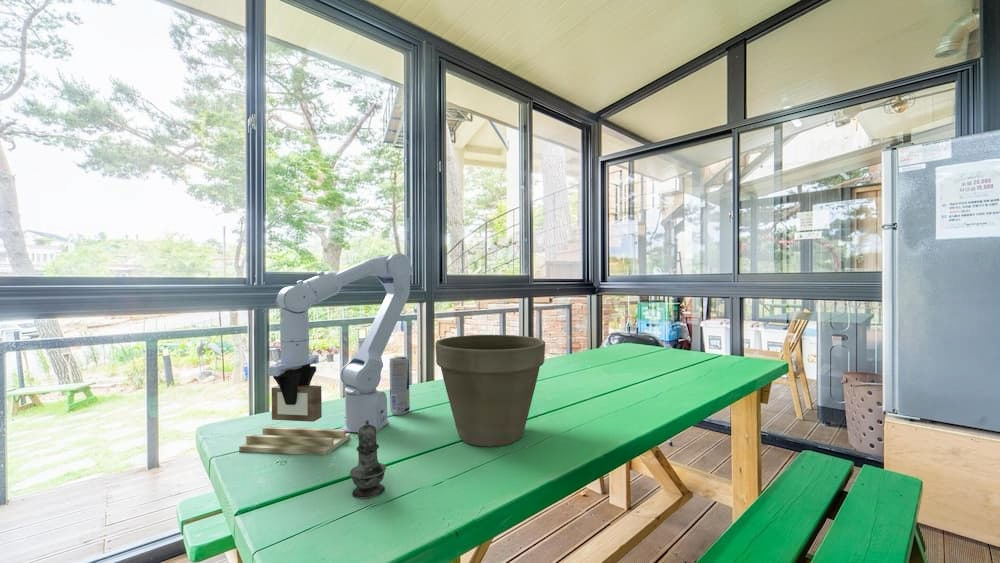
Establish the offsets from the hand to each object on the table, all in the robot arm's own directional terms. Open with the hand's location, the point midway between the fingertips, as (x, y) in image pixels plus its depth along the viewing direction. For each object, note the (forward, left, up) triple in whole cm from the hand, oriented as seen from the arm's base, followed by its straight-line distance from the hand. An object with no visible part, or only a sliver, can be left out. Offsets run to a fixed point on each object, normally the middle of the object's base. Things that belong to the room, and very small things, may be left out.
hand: (296, 402), depth 94 cm
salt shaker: (-26, +18, -10) cm, 33 cm away
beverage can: (-14, -24, -10) cm, 29 cm away
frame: (0, 0, -4) cm, 4 cm away
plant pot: (-42, -10, -10) cm, 44 cm away
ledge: (0, 0, -9) cm, 9 cm away
